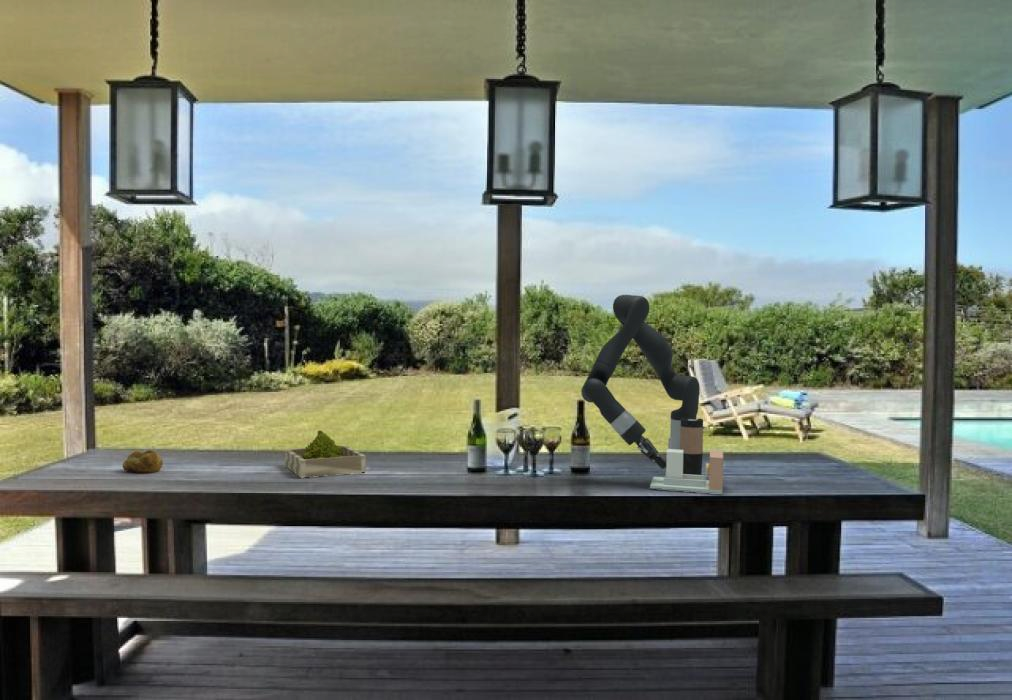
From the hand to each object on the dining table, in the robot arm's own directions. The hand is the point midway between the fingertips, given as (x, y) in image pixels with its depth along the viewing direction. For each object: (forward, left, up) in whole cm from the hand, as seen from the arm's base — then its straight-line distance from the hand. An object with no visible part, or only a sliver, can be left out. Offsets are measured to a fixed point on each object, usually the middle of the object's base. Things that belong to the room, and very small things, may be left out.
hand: (665, 467), depth 255 cm
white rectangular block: (+2, +2, -5) cm, 6 cm away
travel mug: (-8, +18, -6) cm, 20 cm away
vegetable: (-72, -92, -7) cm, 117 cm away
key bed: (+5, +5, -6) cm, 9 cm away
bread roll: (-95, -148, -7) cm, 175 cm away
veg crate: (-72, -91, -6) cm, 116 cm away
